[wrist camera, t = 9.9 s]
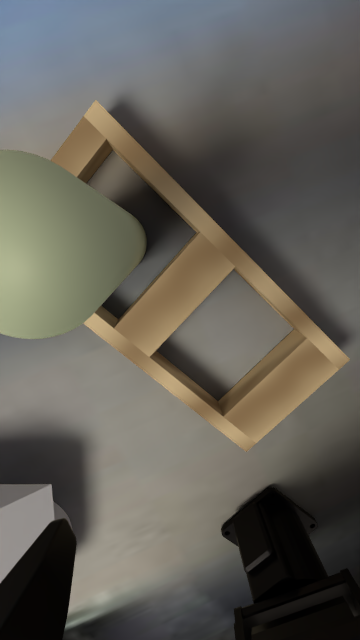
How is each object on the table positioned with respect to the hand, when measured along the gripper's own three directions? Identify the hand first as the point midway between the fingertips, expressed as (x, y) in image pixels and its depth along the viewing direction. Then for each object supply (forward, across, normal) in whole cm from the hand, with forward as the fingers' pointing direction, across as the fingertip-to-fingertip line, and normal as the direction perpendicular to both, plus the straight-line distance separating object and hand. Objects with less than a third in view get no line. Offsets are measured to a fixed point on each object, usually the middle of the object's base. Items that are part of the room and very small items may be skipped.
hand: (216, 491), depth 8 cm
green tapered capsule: (+13, +3, -8) cm, 15 cm away
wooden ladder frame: (+13, -1, -3) cm, 13 cm away
